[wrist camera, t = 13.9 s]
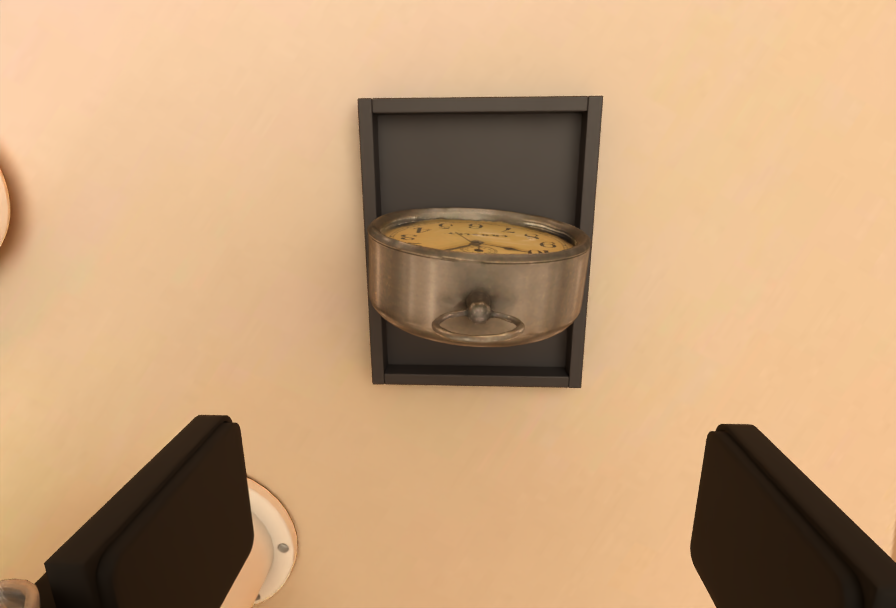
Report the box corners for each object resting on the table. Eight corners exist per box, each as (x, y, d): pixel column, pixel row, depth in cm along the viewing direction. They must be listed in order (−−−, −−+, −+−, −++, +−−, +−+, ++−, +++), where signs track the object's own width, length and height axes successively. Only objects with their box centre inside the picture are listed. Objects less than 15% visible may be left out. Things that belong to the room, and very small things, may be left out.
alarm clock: (567, 211, 32) (654, 274, 16) (557, 295, 33) (627, 426, 18) (390, 200, 32) (311, 251, 17) (388, 284, 34) (314, 402, 18)
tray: (377, 371, 36) (372, 384, 34) (364, 101, 31) (357, 98, 29) (575, 375, 35) (581, 388, 34) (595, 98, 30) (603, 95, 28)
